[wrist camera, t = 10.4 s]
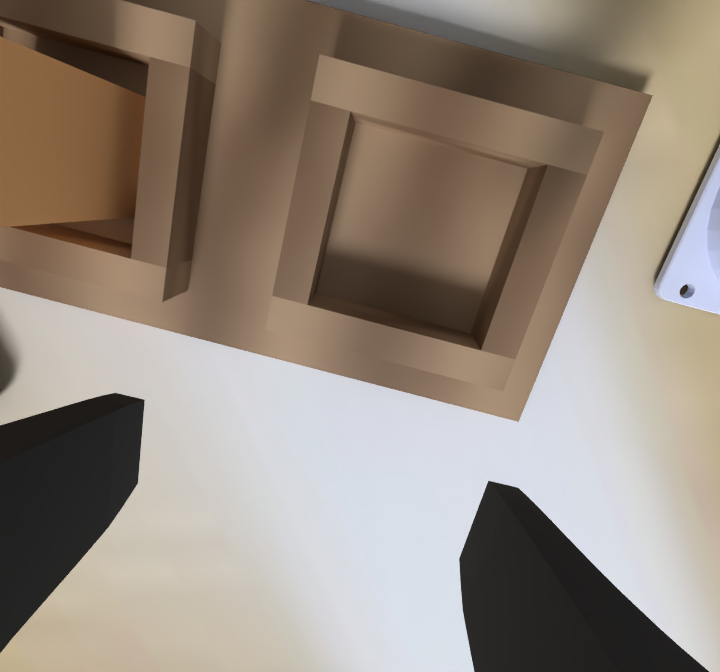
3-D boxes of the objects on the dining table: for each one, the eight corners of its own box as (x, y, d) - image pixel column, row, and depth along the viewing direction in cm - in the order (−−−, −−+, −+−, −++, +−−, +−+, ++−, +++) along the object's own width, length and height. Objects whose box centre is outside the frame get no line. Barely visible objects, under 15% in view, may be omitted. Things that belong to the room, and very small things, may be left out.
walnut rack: (639, 100, 15) (694, 79, 12) (513, 412, 18) (534, 448, 16) (-67, -93, 14) (-171, -159, 12) (-54, 265, 18) (-131, 276, 15)
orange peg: (149, 98, 15) (-43, 17, 8) (137, 217, 16) (-38, 229, 10) (33, 67, 15) (-255, -40, 8) (30, 188, 16) (-223, 181, 9)
